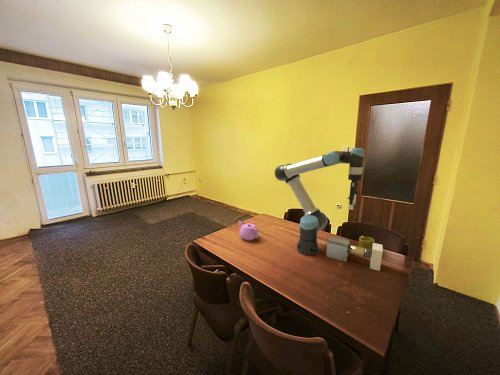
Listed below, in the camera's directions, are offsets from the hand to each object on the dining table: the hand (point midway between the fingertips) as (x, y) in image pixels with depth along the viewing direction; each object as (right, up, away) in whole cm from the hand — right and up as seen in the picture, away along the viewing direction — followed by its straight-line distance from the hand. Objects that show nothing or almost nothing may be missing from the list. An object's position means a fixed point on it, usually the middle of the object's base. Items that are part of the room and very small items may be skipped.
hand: (351, 206), depth 133 cm
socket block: (+10, -35, -8) cm, 37 cm away
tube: (+2, -30, -4) cm, 30 cm away
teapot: (-67, -27, +31) cm, 79 cm away
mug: (+15, -31, +12) cm, 37 cm away
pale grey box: (-8, -33, +3) cm, 34 cm away
